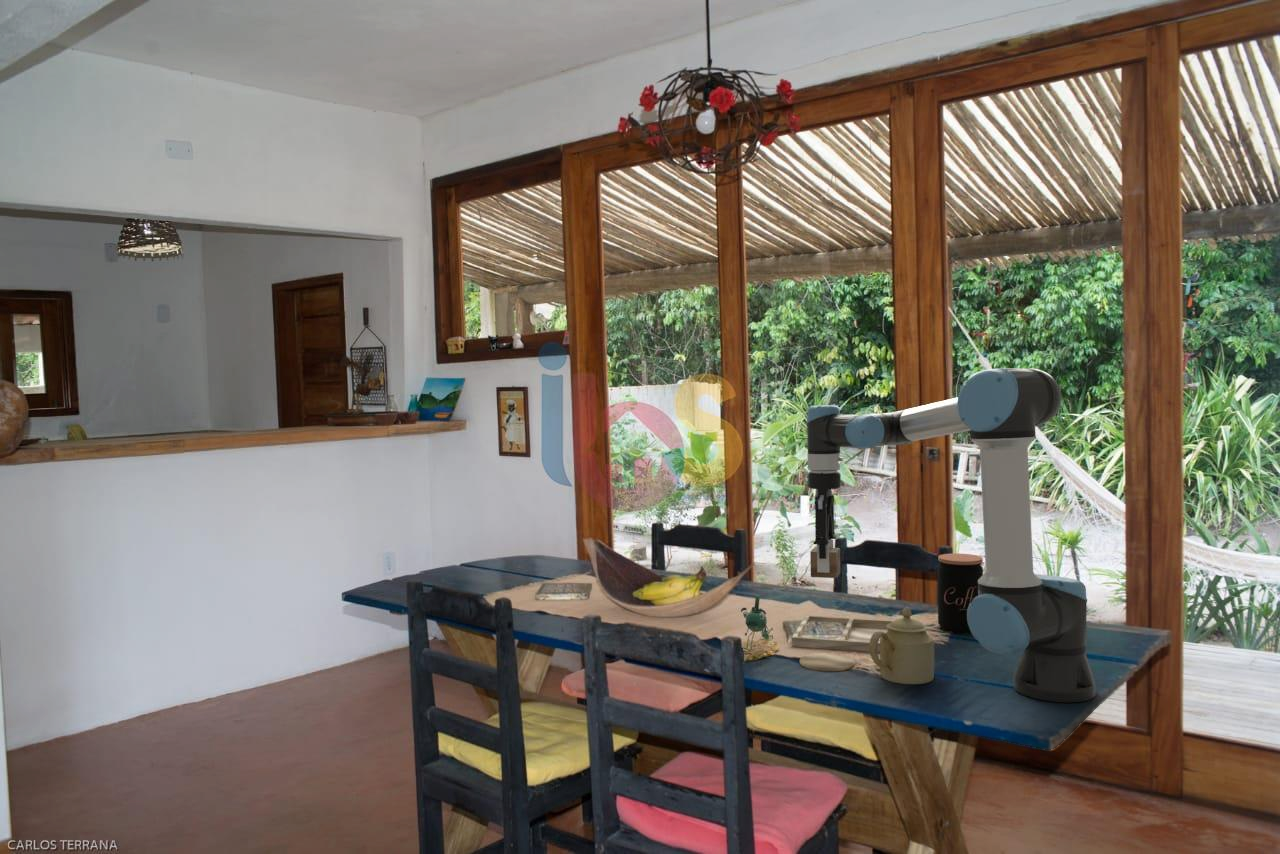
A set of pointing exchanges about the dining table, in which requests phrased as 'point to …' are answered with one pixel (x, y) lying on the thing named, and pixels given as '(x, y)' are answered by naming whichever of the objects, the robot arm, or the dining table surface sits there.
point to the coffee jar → (957, 589)
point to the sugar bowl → (904, 651)
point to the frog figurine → (757, 623)
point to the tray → (851, 639)
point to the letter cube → (833, 563)
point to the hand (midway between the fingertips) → (825, 569)
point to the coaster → (827, 662)
